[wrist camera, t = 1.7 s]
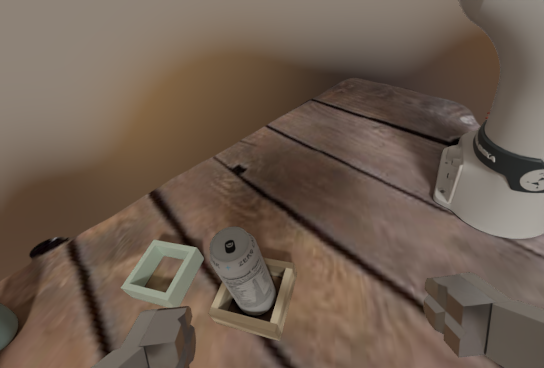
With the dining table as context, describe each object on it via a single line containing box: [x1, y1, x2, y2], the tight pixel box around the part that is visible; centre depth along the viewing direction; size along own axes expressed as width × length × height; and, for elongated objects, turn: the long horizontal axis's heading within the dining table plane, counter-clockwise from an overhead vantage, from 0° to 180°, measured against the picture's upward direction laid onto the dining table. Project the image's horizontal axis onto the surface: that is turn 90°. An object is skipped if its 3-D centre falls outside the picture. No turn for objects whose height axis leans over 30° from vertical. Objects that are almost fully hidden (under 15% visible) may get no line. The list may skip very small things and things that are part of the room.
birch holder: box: [208, 258, 297, 341], centre depth 42 cm, size 10×10×4 cm
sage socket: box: [121, 240, 204, 308], centre depth 48 cm, size 9×9×4 cm
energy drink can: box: [210, 227, 276, 316], centre depth 38 cm, size 6×6×15 cm
